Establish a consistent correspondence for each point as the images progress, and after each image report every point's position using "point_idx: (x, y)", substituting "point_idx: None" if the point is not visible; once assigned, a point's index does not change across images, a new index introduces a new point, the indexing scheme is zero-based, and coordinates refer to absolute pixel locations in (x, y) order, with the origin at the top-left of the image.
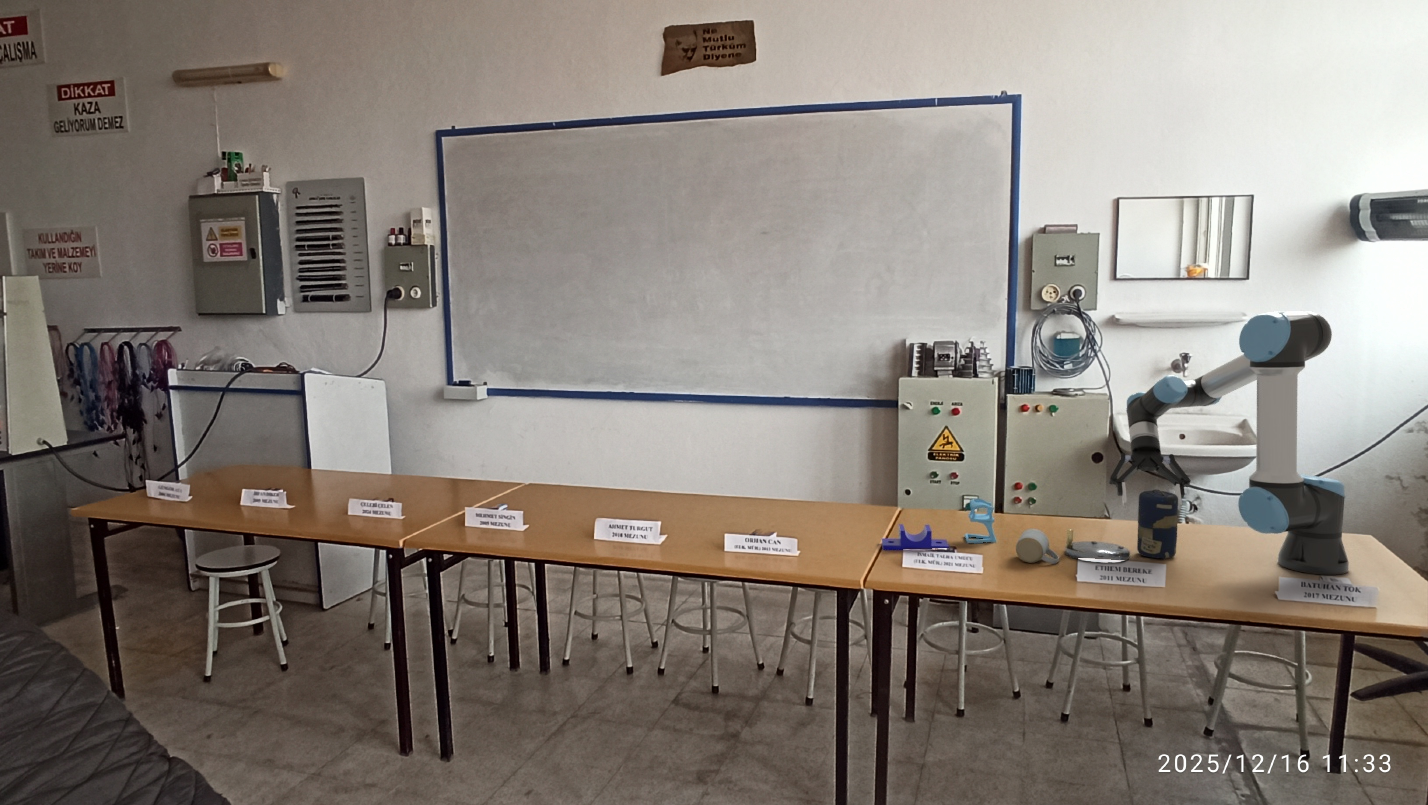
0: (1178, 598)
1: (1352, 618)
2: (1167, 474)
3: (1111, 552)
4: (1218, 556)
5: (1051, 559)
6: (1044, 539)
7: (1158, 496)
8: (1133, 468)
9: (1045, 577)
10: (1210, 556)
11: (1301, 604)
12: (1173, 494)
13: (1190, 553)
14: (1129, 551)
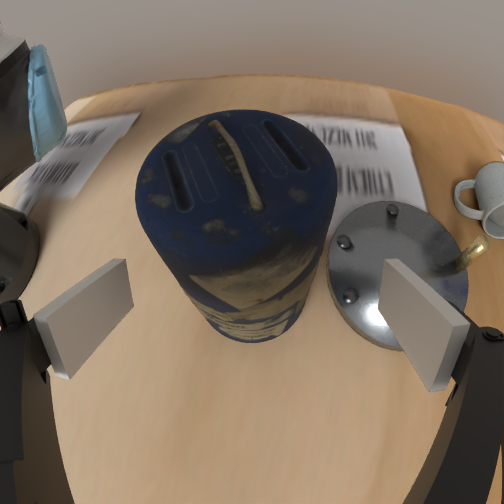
0: (266, 89)
1: (108, 94)
2: (29, 410)
3: (373, 244)
4: None
5: (461, 183)
6: (494, 185)
7: (247, 115)
8: (448, 482)
9: (440, 138)
10: None
11: (126, 107)
12: (155, 159)
13: (155, 332)
14: (329, 262)
